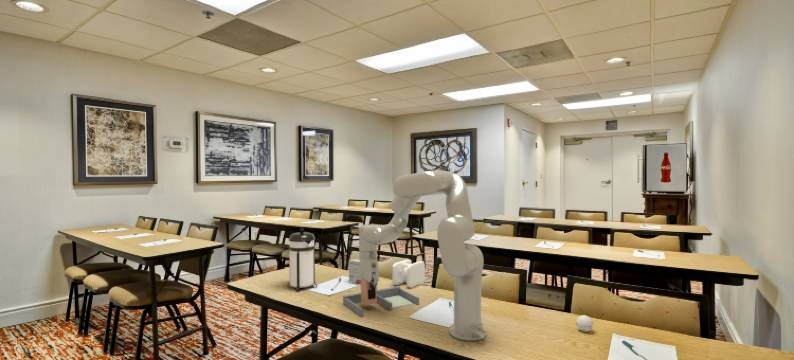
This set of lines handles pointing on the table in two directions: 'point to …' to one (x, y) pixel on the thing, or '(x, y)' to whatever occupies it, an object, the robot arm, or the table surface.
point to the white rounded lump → (584, 323)
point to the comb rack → (382, 299)
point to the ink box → (354, 271)
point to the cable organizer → (408, 273)
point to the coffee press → (302, 260)
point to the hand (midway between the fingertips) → (368, 296)
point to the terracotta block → (366, 293)
